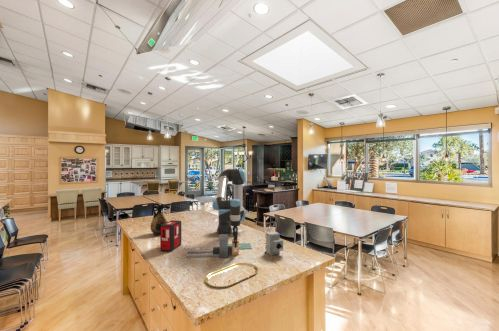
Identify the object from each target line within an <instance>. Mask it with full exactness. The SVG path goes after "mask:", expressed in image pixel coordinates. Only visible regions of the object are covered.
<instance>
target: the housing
mask: <svg viewBox="0 0 499 331" xmlns="http://www.w3.org/2000/svg"><path fill="white" fill-rule="evenodd" d="M228 236H229V234H219V240H218V241H219V243H218V247H219V254H213V249H204V250H201V249H200V250H199V249H198V250H195V249H194V250H188V251H187V254H186V255H185V258H208V257H209V258H210V257H212V258H213V257H219V258H220V259H227V258H229V257H228V256H229V254H228V244H229V237H228ZM203 253H204V254H203Z"/></svg>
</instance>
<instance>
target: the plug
mask: <svg viewBox="0 0 499 331" xmlns="http://www.w3.org/2000/svg"><path fill="white" fill-rule="evenodd" d="M237 241H238V243H237V252H234V243H233V242H234V239H233V238H232V239H231V244H232V246H228V255H231V256H233V255H235V256H236V255H237V256H239V253H240V252H239V251H240V249H239V248H241V246H240V245H239V244H240V242H239V238H237ZM212 250H213V252H212V254H219V246H213V247H212Z"/></svg>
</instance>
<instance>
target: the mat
mask: <svg viewBox="0 0 499 331" xmlns="http://www.w3.org/2000/svg"><path fill="white" fill-rule="evenodd" d="M239 245H240V246H241V248H239V250H252V249H253V248H252V245H251V243H249V242H248V243H247V242H246V243H244V242H243V243H239ZM228 246H232V243H228Z"/></svg>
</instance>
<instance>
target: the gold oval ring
mask: <svg viewBox="0 0 499 331" xmlns="http://www.w3.org/2000/svg"><path fill="white" fill-rule="evenodd" d="M241 266H242V267H243V266H246V267H250V268H252V269H254V271H255V272H254V273H253V274H250V275H249V276H246V277H244V278H241V279H240V280H238V281H235V282H233V283H231V284H227V285H220V286H217V285H213V284H210V281H209V280H210V278H211V277H213V276H215V275H218V274H221V273H223V272H227V271H228V270H231V269H233V268H235V267H241ZM258 271H259V268H258V266H256V265H255V264H253V263H248V262H238V263H233V264H230V265H228V266H226V267H223V268H220V269H218V270H215V271H213V272H210V273H208V274H207V275H206V276H205V279H204V280H205V283H206V284H207V285H209V286H210V287H212V288H218V289H220V288H223V289H224V288H227V287H228V288H229V287H231V286H234V285H235V284H237V283H240V282H242V281H244V280H247V279H249V278H250V277H251V278H252V277H253V276H255V275H256V274H257V273H258Z"/></svg>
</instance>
